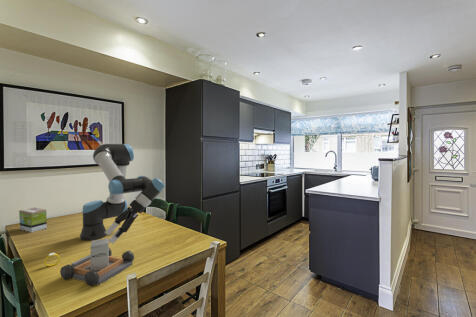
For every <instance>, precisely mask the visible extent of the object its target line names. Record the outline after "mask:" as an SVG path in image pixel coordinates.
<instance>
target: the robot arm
mask: <svg viewBox="0 0 476 317" xmlns="http://www.w3.org/2000/svg"><path fill="white" fill-rule="evenodd" d="M134 152H135V151H134V149H133V147H132V146H131V145H130V144H128V143H127V144H125V143H103V144H100V145H98V146H97V147H96V148H95V150H93V154H92V158H93V161H94V163H95V164H96V165H98V166H99V168H101V170H102V172H103V173H104V175H105V177H106V178H107V180H108V181H109V182H108V185H107V186H108V192H109V195H108V197H107V198H106V200H105V201H104V202H103V200H98V199H97V200H92V201H89V202H86V203H84V204H83V206H82V212H81V213H82V229H81V232H80V234H79V240H81V241H94V240H100V239H102V238H104V237H105V236H107V235H108V236H110V235H111V234H112V233H113V232H114V231H115V230H116V229H117V228H118V227H119V225H121V223H122V222H123V223H122V225H121V226H120V227H119V228H118V229H117V230H116V231H115V232H114V233H113V234H112V235H111V237H110V238H108V239H109V240H108V241H109V242H108V243H111V244H112V245H114V243H116V242H117V240H119V238H121V236H122V235H123V233H127V232H128V231H129V229H130V227H131V226H132V225H133V223H134V221H135V220H136V219H137V218H138V216H139V215H138V213H139V214H143V212H144V210H146V208H147V207H149V206H150V205H151V204H152V202H153V201H154V200H155V198H157V196H158V195H160V193H161V192H162V191H163V189H164V188H165V187H166V185H165V184H164V183H163V181H162V180H161V179H159V178H157V177H154V178H153V179H151V178H149V177H148V176H145V175H139V176H137V177H134V178H126V175H127V174H126V173H127V167H128V166H129V165H130V162H133V161H134V157H135V154H134ZM137 192H139V194H138V195H137V196H136V197H135V199H133V200H132V201H131V203H129V207H128V201H127V200H126V199H125V197H124V194H128V193H137ZM111 218H114V221H113V222H112V224H111V225H110V226H109V227H108V228H107V229H106V227H105V225H104V220H107V219H111Z"/></svg>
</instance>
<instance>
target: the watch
mask: <svg viewBox="0 0 476 317" xmlns="http://www.w3.org/2000/svg"><path fill="white" fill-rule="evenodd" d="M54 256H57V258H58V260H57V262H55V263H52V264H47V259H48V258H50V257H54ZM60 260H61V259H60V255H59V254H58V253H56V252H51V253H49V254H48V255H47V256H46V257H45V258H44V265H45V266H46V267H48V268H49V266H50V267H53V266H57V265H58V264H59V262H60ZM52 265H53V266H52Z"/></svg>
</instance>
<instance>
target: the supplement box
mask: <svg viewBox="0 0 476 317" xmlns="http://www.w3.org/2000/svg"><path fill="white" fill-rule="evenodd" d="M109 239H110V238H104V239H102V238H100V239H95V240H90V242H91V243H90V254H91V270H95V271H98V270H102V269H104V268H106V267H108V257H109V253H108V247H109V243H110V242H109V241H108V240H109Z"/></svg>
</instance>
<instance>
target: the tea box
mask: <svg viewBox="0 0 476 317" xmlns="http://www.w3.org/2000/svg"><path fill="white" fill-rule="evenodd" d="M18 212H19V213H18V214H19V217H18V218H19V230H20V229H21V230H20V231H24V230H25V232H28V231H29V232H28V233H31V232H32V233H35V232H34V231H36V232H39V231H38V230H40V231H42V230H41V229H43V230H46V229H47V228H48V225H47V223H48V220H47V209H44V208H40V207H39V208H38V207H29V208H25V209H21V210H18ZM45 228H46V229H45Z"/></svg>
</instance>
